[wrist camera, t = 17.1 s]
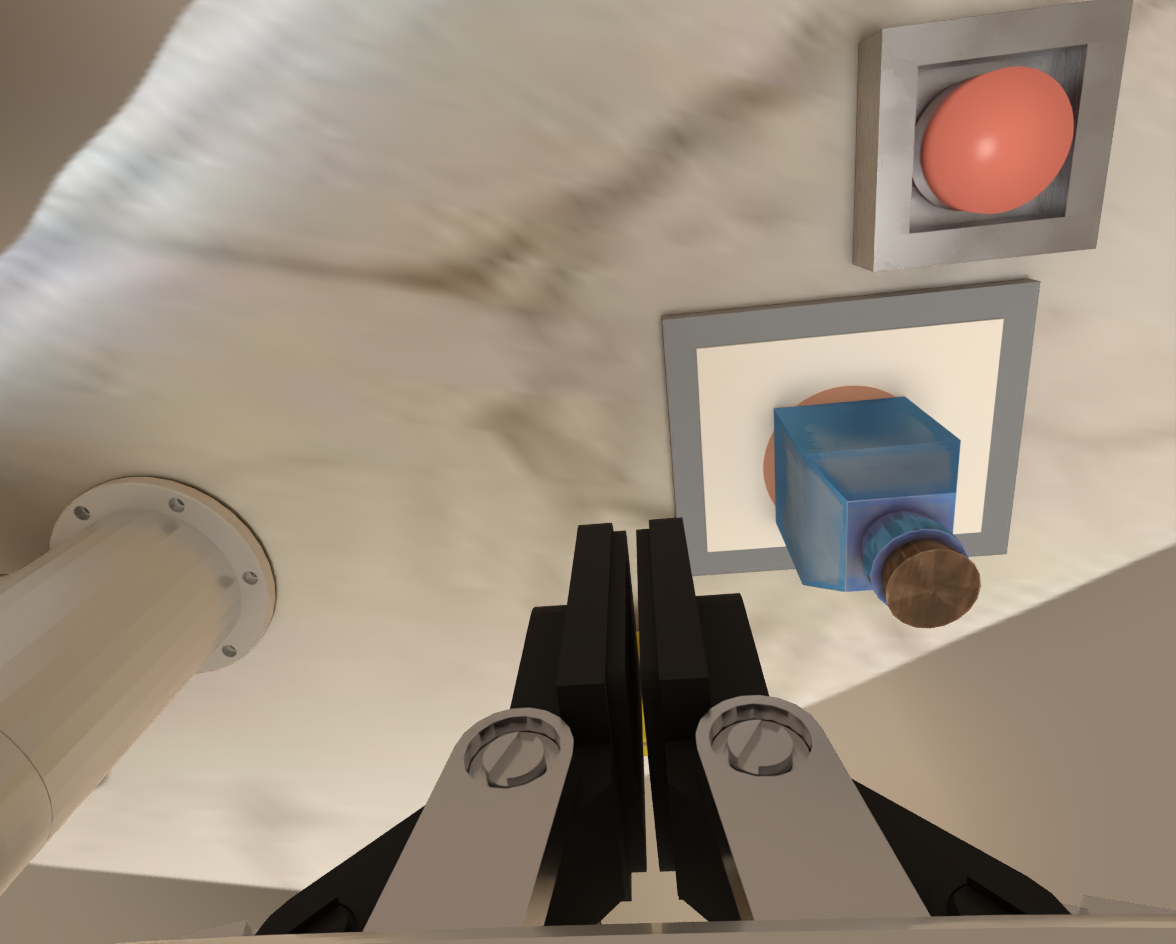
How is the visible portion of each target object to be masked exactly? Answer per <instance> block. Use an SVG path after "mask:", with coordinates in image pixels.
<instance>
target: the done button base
mask: <svg viewBox="0 0 1176 944" xmlns="http://www.w3.org/2000/svg"><path fill="white" fill-rule="evenodd" d="M1132 4H1133V0H1093V1H1086V2H1079V3H1071V4H1064V5H1056V6H1049V7H1041V8H1034V9H1027V10H1019V11H1012V12H1004V13H997V14H989V15H982V16H974V17H967V18H960V19H952V20H945V21H937V22H930V23H922V24H915V25H908V26H900V27H893V28H885V29H882V30H880V31H878V32H876V33H875V34H873V35H871V36H870V37H868V38H866V39H864V40H863V41H861V42H859V56H858V92H857V129H856V166H855V203H854V240H853V264H854V265H857V266H859V267H862V268H864V269H867V270H870V271H872V272H877V271H887V270H896V269H906V268H915V267H925V266H934V265H944V264H953V263H963V262H972V261H982V260H991V259H1001V258H1010V257H1020V256H1029V255H1039V254H1048V253H1058V252H1067V251H1076V250H1086V249H1095V248H1096V244H1097V238H1098V231H1099V224H1100V217H1101V211H1102V204H1103V197H1104V191H1105V184H1106V177H1107V171H1108V164H1109V157H1110V151H1111V144H1112V137H1113V131H1114V124H1115V117H1116V111H1117V104H1118V97H1119V90H1120V84H1121V77H1122V70H1123V64H1124V57H1125V50H1126V44H1127V37H1128V30H1129V24H1130V17H1131V10H1132ZM1019 66H1020V67H1029V68H1033V69H1037V70H1040V71H1042V72H1044V73H1046V74H1048V75H1049V76H1051V77H1052V78H1053V79H1055V80H1056V81H1057V82H1058V83H1059V84H1060V86H1061V87H1062V88H1063V89H1064V91H1065V93H1066V95H1067V96H1068V98H1069V101H1070V104H1071V107H1072V112H1073V121H1074V128H1073V137H1072V143H1071V146H1070V150H1069V153H1068V155H1067V158H1066V160H1065V162H1064V164H1063V166H1062V168H1061V169H1060V171H1059V173H1058V174H1057V175H1056V177H1055V178H1054V179H1053V181H1052V182H1051V183H1050V184H1049V185H1048V186H1047V187H1046V188H1045V189H1044V190H1043V191H1042V192H1041V193H1040V194H1039V195H1037V196H1036V197H1035V198H1033V199H1032V200H1031V201H1029V202H1027V203H1025V204H1024V205H1022V206H1020V207H1017V208H1015V209H1012V210H1009V211H1006V212H1001V213H995V214H983V213H973V212H963V211H952V210H948V209H944V208H941V207H939V206H937V205H935V204H933V203H932V202H930V201H929V200H928V199H926V198H925V197H924V196H923V194H922V193H921V192H920V191H919V189H918V188H917V186H916V184H915V182H914V180H913V178H912V173H913V155H914V136H915V127H916V125H917V123H918V121H919V118H920V117H921V115H922V114H923V112H924V111H925V109H926V108H927V107H928V105H929V104H930V103H931V102H932V101H933V100H934V99H935V98H936V97H937V96H938V95H939V94H940V93H942V92H943V91H944V90H946V89H947V88H949V87H950V86H952V85H954V84H956V83H958V82H960V81H962V80H965V79H968V78H971V77H975V76H978V75H981V74H985V73H988V72H992V71H995V70H998V69H1003V68H1008V67H1019Z"/></svg>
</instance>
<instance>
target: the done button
mask: <svg viewBox="0 0 1176 944" xmlns="http://www.w3.org/2000/svg"><path fill="white" fill-rule="evenodd" d="M1073 128H1074V121H1073V112H1072V107H1071V104H1070V101H1069V98H1068V96H1067V95H1066V93H1065V91H1064V89H1063V88H1062V87H1061V86H1060V84H1059V83H1058V82H1057V81H1056V80H1055V79H1053V78H1052V77H1051V76H1049V75H1048V74H1046V73H1044V72H1042V71H1040V70H1037V69H1033V68H1029V67H1020V66H1019V67H1008V68H1003V69H998V70H995V71H992V72H988V73H985V74H981V75H978V76H975V77H971V78H968V79H965V80H962V81H960V82H958V83H956V84H954V85H952V86H950V87H949V88H947V89H946V90H944V91H943V92H942V93H940V94H939V95H938V96H937V97H936V98H935V99H934V100H933V101H932V102H931V103H930V104H929V105H928V107H927V108H926V109H925V111H924V112H923V114H922V115H921V117H920V118H919V121H918V123H917V125H916V127H915V136H914V155H913V173H912V178H913V180H914V182H915V184H916V186H917V188H918V189H919V191H920V192H921V193H922V194H923V196H924V197H925V198H926V199H928V200H929V201H930V202H932V203H933V204H935V205H937V206H939V207H941V208H944V209H948V210H952V211H963V212H973V213H983V214H995V213H1001V212H1006V211H1009V210H1012V209H1015V208H1017V207H1020V206H1022V205H1024V204H1025V203H1027V202H1029V201H1031V200H1032V199H1033V198H1035V197H1036V196H1037V195H1039V194H1040V193H1041V192H1042V191H1043V190H1044V189H1045V188H1046V187H1047V186H1048V185H1049V184H1050V183H1051V182H1052V181H1053V179H1054V178H1055V177H1056V175H1057V174H1058V173H1059V171H1060V169H1061V168H1062V166H1063V164H1064V162H1065V160H1066V158H1067V155H1068V153H1069V150H1070V146H1071V143H1072V137H1073Z"/></svg>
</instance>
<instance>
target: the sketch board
mask: <svg viewBox="0 0 1176 944" xmlns="http://www.w3.org/2000/svg"><path fill="white" fill-rule="evenodd" d="M1039 288H1040V281H1036V280H1032V279H1020V280H1010V281H1000V282H991V283H981V284H971V285H961V286H952V287H942V288H932V289H922V290H913V291H903V292H893V293H883V294H874V295H864V296H854V297H844V298H835V299H825V300H815V301H805V302H796V303H786V304H776V305H766V306H757V307H747V308H737V309H727V310H718V311H708V312H698V313H688V314H679V315H669V316H662V328H663V342H664V356H665V370H666V383H667V397H668V411H669V425H670V439H671V453H672V467H673V481H674V495H675V509H676V518H680V517H682V518H683V523H684V529H685V536H686V542H687V548H688V554H689V560H690V566H691V572H692V576H701V575H716V574H730V573H744V572H758V571H773V570H787V569H796V568H795V566H794V563H793V561H792V559H791V556H790V554H789V552H788V549H787V547H786V545H785V543H784V540H783V538H782V536H781V533H780V531H779V529H778V526H777V524H776V510H775V451H774V408H785V407H795V406H806V405H817V404H828V403H839V402H849V401H860V400H871V399H882V398H893V397H903V396H905V397H906V398H908V399H909V400H910V401H911V402H913V403H914V404H915V405H917V406H918V407H919V408H920V409H922V410H923V411H924V412H926V413H927V414H928V415H929V416H931V417H932V418H933V419H934V420H936V421H937V422H938V423H940V424H941V425H942V426H943V427H945V428H946V429H947V430H949V431H950V432H951V433H952V434H954V435H955V436H956V437H957V438H959V439H960V440H961V444H960V456H959V468H958V480H957V493H956V504H955V516H954V527H953V534H954V536H955V537H956V538H957V539H958V540H959V541H960V542H961V543H962V545H963V546H964V548H965V550H966V552H967V554H968V557H972V556H987V555H1001V554H1007V547H1008V539H1009V531H1010V523H1011V515H1012V507H1013V498H1014V490H1015V482H1016V474H1017V466H1018V458H1019V450H1020V442H1021V434H1022V426H1023V418H1024V410H1025V401H1026V393H1027V385H1028V377H1029V369H1030V361H1031V353H1032V345H1033V337H1034V329H1035V321H1036V312H1037V304H1038V296H1039Z"/></svg>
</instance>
